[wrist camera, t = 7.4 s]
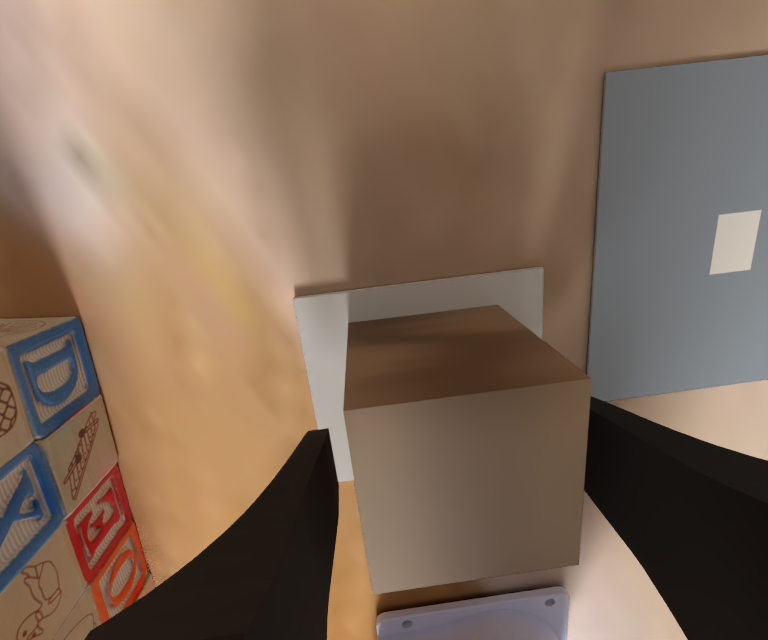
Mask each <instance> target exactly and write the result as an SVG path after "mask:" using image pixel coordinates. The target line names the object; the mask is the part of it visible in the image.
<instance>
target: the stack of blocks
mask: <svg viewBox="0 0 768 640" xmlns="http://www.w3.org/2000/svg"><path fill="white" fill-rule="evenodd" d="M117 461H118V455H117V452H116V448H115V444H114V441H113V437H112V433H111V430H110V426H109V422H108V418H107V414H106V411H105V407H104V403H103V400H102V397H101V395H100V393H99V385H98V381H97V378H96V374H95V371H94V366H93V363H92V359H91V356H90V353H89V350H88V346H87V342H86V339H85V336H84V331H83V327H82V324H81V321H80V319H79V317H75V316H73V317H46V318H13V319H0V640H84V639H85V638H86V636H87V635H88V633H89V632H90V631H91V630H92V629H94V628H96V627H97V626H99V625H101V624H102V623H104V622H105V621H107V620H108V619H110V618H111V617H113V616H114V615H116V614H117V613H119V612H120V611H122V610H124V609H125V608H127V607H128V606H130V605H131V604H133V603H134V602H136V601H137V600H139V599H140V598H142V597H143V596H145V595H146V594H148V593H149V592H150V591H152V590H153V589H155V585H154V582H153V578H152V575H151V574H150V573H149V572H148V570H147V564H146V561H145V560H144V555H143V553H142V547H141V544H140V540H139V537H138V533H137V530H136V526H135V523H134V522H133V521H132V520H131V512H130V509H129V505H128V500H127V496H126V493H125V489H124V487H123V484H122V478H121V475H120V471H119V468H118V466H117V464H116V462H117Z"/></svg>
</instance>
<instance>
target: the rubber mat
mask: <svg viewBox="0 0 768 640" xmlns="http://www.w3.org/2000/svg"><path fill="white" fill-rule="evenodd" d="M543 285H544V268H543V267H532V268H524V269H516V270H508V271H500V272H492V273H484V274H475V275H467V276H459V277H451V278H443V279H435V280H427V281H419V282H411V283H403V284H395V285H387V286H379V287H371V288H362V289H354V290H346V291H338V292H330V293H322V294H314V295H306V296H298V297H294V298H293V301H294V306H295V312H296V317H297V322H298V327H299V333H300V338H301V343H302V348H303V354H304V359H305V364H306V369H307V375H308V380H309V385H310V390H311V395H312V401H313V406H314V411H315V416H316V422H317V427H318V430H320V429H327V428H329V434H330V439H331V445H332V450H333V456H334V461H335V467H336V473H337V478H338V482H343V481H350V480H354V476H353V469H352V463H351V457H350V451H349V444H348V438H347V432H346V426H345V419H344V413H343V405H344V388H345V371H346V354H347V336H348V323H352V322H360V321H368V320H376V319H384V318H392V317H401V316H409V315H417V314H425V313H433V312H441V311H450V310H458V309H466V308H474V307H482V306H490V305H499V306H500V307H501V308H503V309H504V310H505V311H506V312H508V313H509V314H510V315H511V316H513V317H514V318H515V319H517V320H518V321H519V322H520V323H522V324H523V325H524V326H525V327H527V328H528V329H529V330H531V331H532V332H533V333H534V334H536V335H537V336H538V337H539V338H541V339H542V334H543Z"/></svg>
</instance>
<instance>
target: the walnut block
mask: <svg viewBox="0 0 768 640" xmlns="http://www.w3.org/2000/svg"><path fill="white" fill-rule="evenodd" d="M591 381H592V379H591V378H590V377H589V376H588V375H586V374H585V373H584V372H583V371H581V370H580V369H579V368H578V367H576V366H575V365H574V364H572V363H571V362H570V361H569V360H567V359H566V358H565V357H564V356H562V355H561V354H560V353H558V352H557V351H556V350H555V349H553V348H552V347H551V346H550V345H548V344H547V343H546V342H544V341H543V340H542V339H541V338H539V337H538V336H537V335H536V334H534V333H533V332H532V331H531V330H529V329H528V328H527V327H525V326H524V325H523V324H522V323H520V322H519V321H518V320H517V319H515V318H514V317H513V316H511V315H510V314H509V313H508V312H506V311H505V310H504V309H503V308H501V307H500V306H499V305H490V306H482V307H474V308H466V309H458V310H450V311H441V312H433V313H425V314H417V315H409V316H401V317H392V318H384V319H376V320H368V321H360V322H352V323H348V336H347V354H346V371H345V388H344V405H343V413H344V419H345V426H346V432H347V438H348V444H349V451H350V457H351V463H352V469H353V476H354V482H355V488H356V494H357V501H358V507H359V513H360V520H361V526H362V532H363V538H364V545H365V551H366V557H367V563H368V570H369V576H370V582H371V588H372V595H373V594H380V593H387V592H394V591H401V590H408V589H415V588H422V587H428V586H435V585H442V584H449V583H456V582H463V581H470V580H477V579H483V578H490V577H497V576H504V575H511V574H518V573H525V572H532V571H538V570H545V569H552V568H559V567H566V566H573V565H579V553H580V539H581V524H582V510H583V496H584V482H585V467H586V453H587V439H588V424H589V410H590V396H591Z"/></svg>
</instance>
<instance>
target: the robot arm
mask: <svg viewBox="0 0 768 640" xmlns="http://www.w3.org/2000/svg"><path fill="white" fill-rule="evenodd" d="M584 490H585V492H586V493H587V494H588V496H589V497H590V498H591V499H592V501H593V502H594V503H595V505H596V506H597V507H598V509H599V510H600V511H601V513H602V514H603V515H604V516H605V518H606V519H607V520H608V522H609V523H610V524H611V525H612V527H613V528H614V529H615V531H616V532H617V533H618V535H619V536H620V537H621V538H622V540H623V541H624V542H625V544H626V545H627V546H628V547H629V549H630V550H631V551H632V553H633V554H634V556H635V557H636V558H637V560H638V561H639V563H640V564H641V565H642V567H643V568H644V570H645V571H646V573H647V574H648V576H649V578H650V579H651V581H652V582H653V584H654V585H655V587H656V589H657V590H658V592H659V593H660V595H661V596H662V598H663V600H664V601H665V603H666V604H667V606H668V608H669V609H670V611H671V612H672V614H673V616H674V617H675V619H676V621H677V622H678V624H679V626H680V627H681V629H682V631H683V632H684V634H685V636H686V637H687V639H688V640H768V461H767V460H763V459H759V458H756V457H752V456H749V455H746V454H742V453H739V452H736V451H733V450H729V449H726V448H723V447H720V446H717V445H714V444H711V443H708V442H705V441H702V440H699V439H697V438H694V437H691V436H688V435H686V434H683V433H680V432H678V431H675V430H672V429H670V428H667V427H665V426H662V425H660V424H657V423H655V422H652V421H650V420H648V419H645V418H643V417H640V416H638V415H636V414H633V413H631V412H628V411H626V410H624V409H621V408H619V407H617V406H614V405H612V404H609V403H607V402H605V401H602V400H600V399H597V398H594V397H592V396H590V410H589V424H588V439H587V453H586V467H585V482H584ZM338 514H339V484H338V478H337V473H336V467H335V461H334V456H333V450H332V445H331V439H330V434H329V428H327V429H320V430H312V431H308V432H307V433H306V434H305V436H304V437H303V439H302V440H301V442H300V443H299V444H298V446H297V447H296V449H295V450H294V452H293V453H292V455H291V456H290V457H289V459H288V460H287V462H286V463H285V464H284V466H283V467H282V468H281V470H280V471H279V472H278V474H277V475H276V476H275V478H274V479H273V480H272V481H271V483H270V484H269V485H268V486H267V487H266V489H265V490H264V491H263V492H262V493H261V495H260V496H259V497H258V498H257V499H256V501H255V502H254V503H253V504H252V505H251V506H250V507H249V508H248V509H247V510H246V511H245V513H244V514H243V515H242V516H241V517H240V518H239V519H238V520H237V521H236V522H234V523H233V524H232V525H231V526H230V527H229V528H228V529H227V530H226V531H225V532H224V533H223V534H222V535H221V536H219V537H218V538H217V539H216V540H215V541H214V542H213V543H211V544H210V545H209V546H208V547H207V548H206V549H205V550H203V551H202V552H201V553H200V554H199V555H198V556H197V557H195V558H194V559H193V560H192V561H190V562H189V563H188V564H187V565H185V566H184V567H183V568H181V569H180V570H179V571H178V572H176V573H175V574H174V575H172V576H171V577H170V578H168V579H167V580H166V581H164V582H163V583H161V584H160V585H159V586H157V587H156V588H155V589H153V590H152V591H150V592H149V593H148V594H146V595H145V596H143V597H142V598H140V599H139V600H137V601H136V602H134V603H133V604H131V605H130V606H128V607H127V608H125V609H124V610H122V611H120V612H119V613H117V614H116V615H114V616H113V617H111V618H110V619H108V620H107V621H105V622H104V623H102V624H101V625H99V626H97V627H96V628H94V629H92V630H91V631H90V632H89V633H88V635H87V636H86V638H85V639H84V640H327V615H328V602H329V592H330V584H331V576H332V567H333V559H334V551H335V543H336V534H337V526H338ZM569 600H570V598H569V595H568V593H567V591H566V590H565V589H564V588H563V587H550V588H543V589H536V590H530V591H523V592H516V593H510V594H503V595H496V596H490V597H483V598H476V599H470V600H463V601H456V602H450V603H443V604H436V605H430V606H423V607H416V608H410V609H403V610H396V611H390V612H384V613H381V614H380V615H378V616H377V618H376V630H377V636H378V640H567V635H568V617H569Z"/></svg>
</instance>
